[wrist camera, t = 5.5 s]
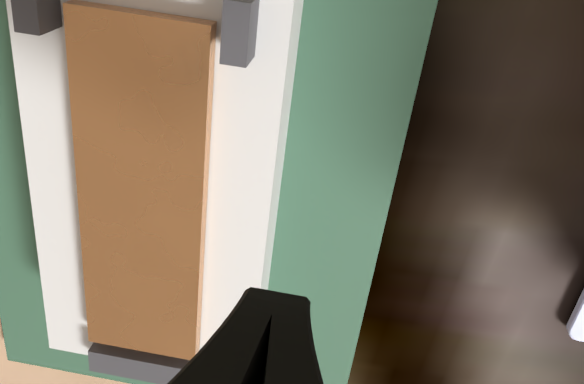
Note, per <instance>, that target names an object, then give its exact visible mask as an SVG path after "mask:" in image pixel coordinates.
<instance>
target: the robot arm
mask: <svg viewBox="0 0 584 384" xmlns="http://www.w3.org/2000/svg"><path fill="white" fill-rule="evenodd" d="M310 304H311V302H310V301H309V299H308V298H307V297H305V296H299V295H293V294H288V293H282V292H277V291H271V290H265V289H260V288H254V287H250V288H248V289H246V290H245V291H244V293H243V295H242V297H241V298H240V300H239V301H238V303H237V304H236V306H235V307H234V308H233V310H232V311H231V313H230V314H229V315H228V317H227V318H226V319H225V320H224V322H223V323H222V324H221V326H220V327H219V328H218V329H217V330H216V332H215V333H214V334H213V335H212V336H211V338H210V339H209V340H208V341H207V342H206V343H205V345H204V346H203V347H202V348H201V349H200V350H199V351H198V353H197V354H196V355H195V356H194V357H193V358H192V359H191V360H190V361H189V362H188V363H187V364H186V365H185V366H184V367H183V368H182V369H181V370H180V371H179V372H178V373H177V374H176V375H175V376H174V377H173V378H172V379H171V380H170V381H169V382H168V383H167V384H324V383H323V379H322V376H321V372H320V367H319V363H318V359H317V355H316V351H315V346H314V340H313V334H312V327H311V317H310ZM566 329H567V331H568V334H569V336H570V337H571V338H572V339H574V340H577V341H582V342H584V289H583V291H582V293H581V295H580V297H579V299H578V302H577V304H576V306H575V308H574V310H573V312H572V314H571V316H570V318H569V321H568V323H567V326H566Z"/></svg>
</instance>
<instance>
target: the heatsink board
mask: <svg viewBox="0 0 584 384" xmlns="http://www.w3.org/2000/svg"><path fill="white" fill-rule="evenodd" d="M67 1H70V0H0V318H1V324H2V330H3V335H4V341H5V346H6V352H7V358H8V360H10V361H16V362H21V363H26V364H31V365H37V366H42V367H47V368H52V369H58V370H63V371H68V372H73V373H79V374H84V375H89V376H94V377H99V378H105V379H110V380H115V381H120V382H126V383H131V384H167V383H168V382H169V381H170V380H171V379H172V378H173V377H174V376H175V375H176V374H177V373H178V372H179V371H180V370H181V369H182V368H183V367H184V366H185V365H186V364H187V363H188V362H189V361H190V360H186V359H181V358H175V357H170V356H165V355H159V354H154V353H149V352H143V351H138V350H133V349H127V348H122V347H117V346H111V345H106V344H101V343H95V342H90V341H88V328H87V315H86V302H85V289H84V276H83V263H82V250H81V237H80V224H79V211H78V198H77V185H76V172H75V159H74V146H73V133H72V120H71V107H70V94H69V81H68V68H67V55H66V42H65V29H64V16H63V3H64V2H67ZM81 1H88V2H94V3H101V4H108V5H114V6H121V7H127V8H134V9H141V10H147V11H154V12H160V13H167V14H174V15H180V16H187V17H193V18H200V19H207V20H213V21H217V26H216V45H215V64H214V83H213V102H212V121H211V140H210V159H209V178H208V197H207V216H206V234H205V253H204V272H203V291H202V310H201V329H200V348H199V350H200V349H201V348H202V347H203V346H204V345H205V343H206V342H207V341H208V340H209V339H210V338H211V336H212V335H213V334H214V333H215V332H216V330H217V329H218V328H219V327H220V326H221V324H222V323H223V322H224V320H225V319H226V318H227V317H228V315H229V314H230V313H231V311H232V310H233V308H234V307H235V306H236V304H237V303H238V301H239V300H240V298H241V297H242V295H243V293H244V291H245V290H246V289H248V288H250V287H254V288H260V289H265V290H271V291H277V292H282V293H288V294H293V295H299V296H305V297H307V298H308V299H309V301H310V302H311V304H310V317H311V327H312V334H313V340H314V346H315V351H316V355H317V359H318V363H319V367H320V372H321V376H322V379H323V383H324V384H347V383H348V378H349V374H350V370H351V366H352V361H353V357H354V353H355V349H356V345H357V340H358V336H359V332H360V328H361V323H362V319H363V315H364V311H365V307H366V302H367V298H368V294H369V290H370V285H371V281H372V277H373V273H374V269H375V264H376V260H377V256H378V252H379V247H380V243H381V239H382V235H383V231H384V226H385V222H386V218H387V214H388V209H389V205H390V201H391V197H392V193H393V188H394V184H395V180H396V176H397V171H398V167H399V163H400V159H401V155H402V150H403V146H404V142H405V138H406V133H407V129H408V125H409V121H410V117H411V112H412V108H413V104H414V100H415V95H416V91H417V87H418V83H419V79H420V74H421V70H422V66H423V62H424V57H425V53H426V49H427V45H428V41H429V36H430V32H431V28H432V24H433V19H434V15H435V11H436V7H437V3H438V0H81Z"/></svg>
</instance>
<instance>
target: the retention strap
mask: <svg viewBox="0 0 584 384" xmlns="http://www.w3.org/2000/svg"><path fill="white" fill-rule="evenodd" d="M63 16H64V29H65V42H66V55H67V68H68V81H69V94H70V107H71V120H72V133H73V146H74V159H75V172H76V185H77V198H78V211H79V224H80V237H81V250H82V263H83V276H84V289H85V302H86V315H87V328H88V341H90V342H95V343H101V344H106V345H111V346H117V347H122V348H127V349H133V350H138V351H143V352H149V353H154V354H159V355H165V356H170V357H175V358H181V359H186V360H191V359H192V358H193V357H194V356H195V355H196V354H197V353H198V351H199V348H200V329H201V310H202V291H203V272H204V253H205V234H206V216H207V197H208V178H209V159H210V140H211V121H212V102H213V83H214V64H215V45H216V26H217V21H213V20H207V19H200V18H193V17H187V16H180V15H174V14H167V13H160V12H154V11H147V10H141V9H134V8H127V7H121V6H114V5H108V4H101V3H94V2H88V1H81V0H70V1H67V2H64V3H63Z"/></svg>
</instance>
